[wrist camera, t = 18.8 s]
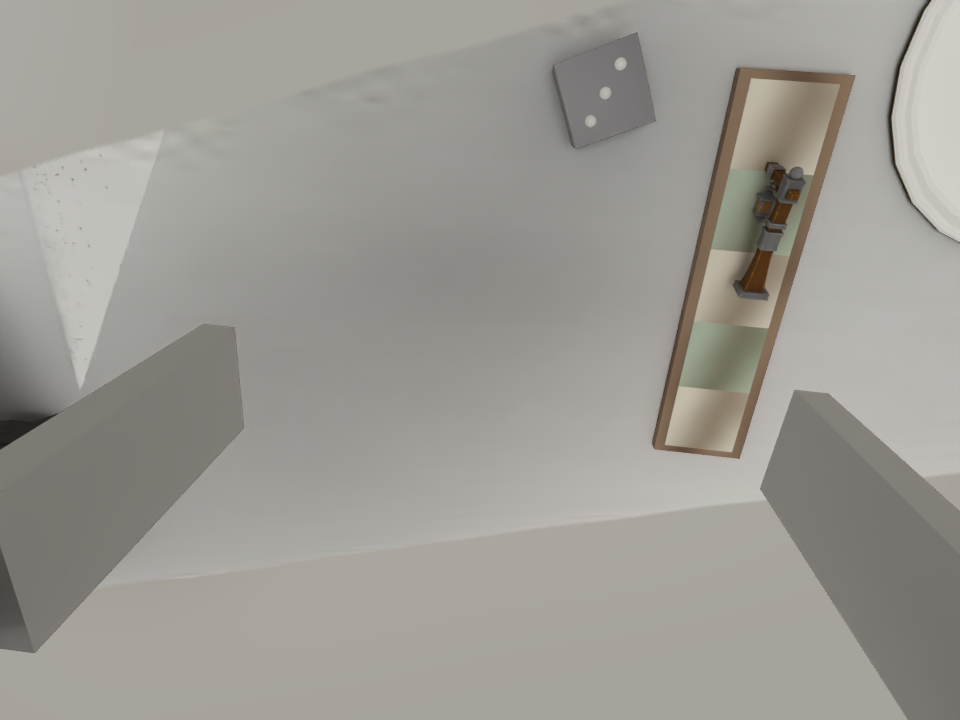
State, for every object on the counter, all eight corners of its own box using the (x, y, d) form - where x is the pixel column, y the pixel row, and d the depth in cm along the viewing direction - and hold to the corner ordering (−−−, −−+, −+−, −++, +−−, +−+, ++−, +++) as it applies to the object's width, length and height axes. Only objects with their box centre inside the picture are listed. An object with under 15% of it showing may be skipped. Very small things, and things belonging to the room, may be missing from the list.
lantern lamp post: (769, 302, 34) (821, 173, 30) (739, 300, 35) (786, 170, 30) (750, 268, 38) (793, 148, 33) (722, 266, 38) (762, 146, 33)
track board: (652, 443, 43) (654, 449, 43) (736, 68, 33) (741, 67, 32) (736, 452, 43) (739, 459, 42) (848, 76, 33) (856, 75, 32)
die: (571, 145, 36) (576, 149, 31) (552, 71, 34) (553, 64, 30) (645, 119, 35) (660, 119, 30) (628, 41, 33) (641, 30, 29)
